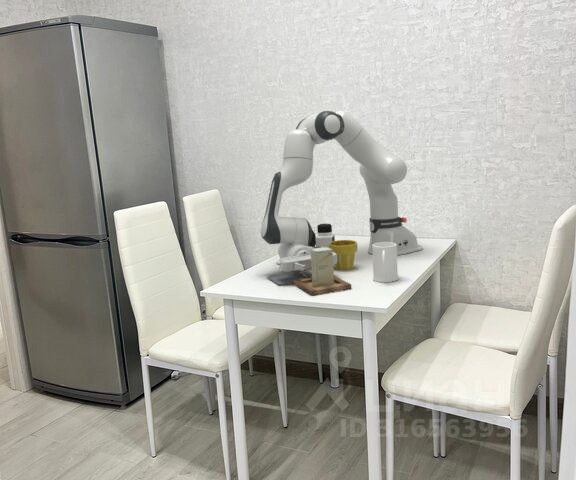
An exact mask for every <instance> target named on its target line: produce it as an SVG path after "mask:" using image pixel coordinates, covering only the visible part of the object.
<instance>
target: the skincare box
mask: <svg viewBox="0 0 576 480" xmlns="http://www.w3.org/2000/svg"><path fill="white" fill-rule="evenodd" d="M311 267H312V268H311V277H312V285H314V286H316V287H322V286H328V285H334V276H335V275H334V265H333V251H332V249H330V248H327V247H325V248H318V249H311Z"/></svg>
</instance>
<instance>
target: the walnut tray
mask: <svg viewBox="0 0 576 480" xmlns="http://www.w3.org/2000/svg"><path fill="white" fill-rule="evenodd" d="M307 277H308V278H302V279H296V280H293V284H292V285H293V286H295V287H297V288H298V289H300V290H302V291H303V292H305V293H306V294H308V295H309V296H311V297H313V296H318V295H319V294H320V295H325V293H326V294H331V293H330V292H332V293H336V292H335V291H337V292H342V291H341V290H343V291H348V290H347V289H349V290H352V283H349V282H348V281H346V280H343V279H342V278H339V277H338V276H336V275H334V285H328V286H322V287H316V286H314V285H312V276H307ZM320 295H319V296H320Z"/></svg>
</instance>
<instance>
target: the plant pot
mask: <svg viewBox="0 0 576 480" xmlns="http://www.w3.org/2000/svg"><path fill="white" fill-rule="evenodd" d="M329 248H330V249H332V251H333V252H334V253H336V254H337V264H334V265H333V267H334V269H335V270H336V271H350V270H352V269H353V268H354V264H355V258H356V253H357V252H358V242H357V240H352V239H339V240H335V241H332V242H330V243H329Z"/></svg>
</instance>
